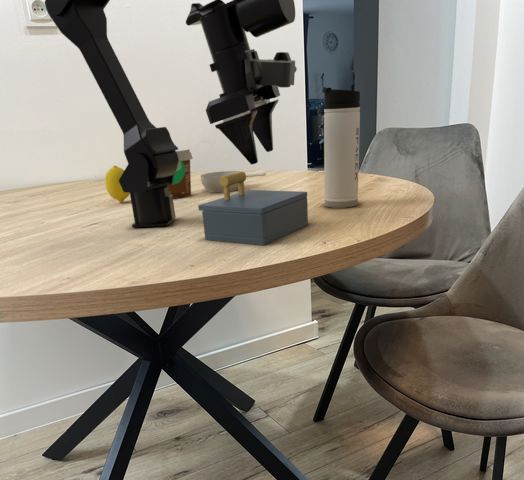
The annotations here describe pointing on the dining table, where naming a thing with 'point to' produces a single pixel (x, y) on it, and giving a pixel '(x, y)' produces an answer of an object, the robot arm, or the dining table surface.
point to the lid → (249, 198)
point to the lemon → (115, 184)
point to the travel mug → (341, 147)
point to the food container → (182, 176)
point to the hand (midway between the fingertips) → (262, 157)
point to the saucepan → (213, 180)
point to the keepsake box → (255, 224)
